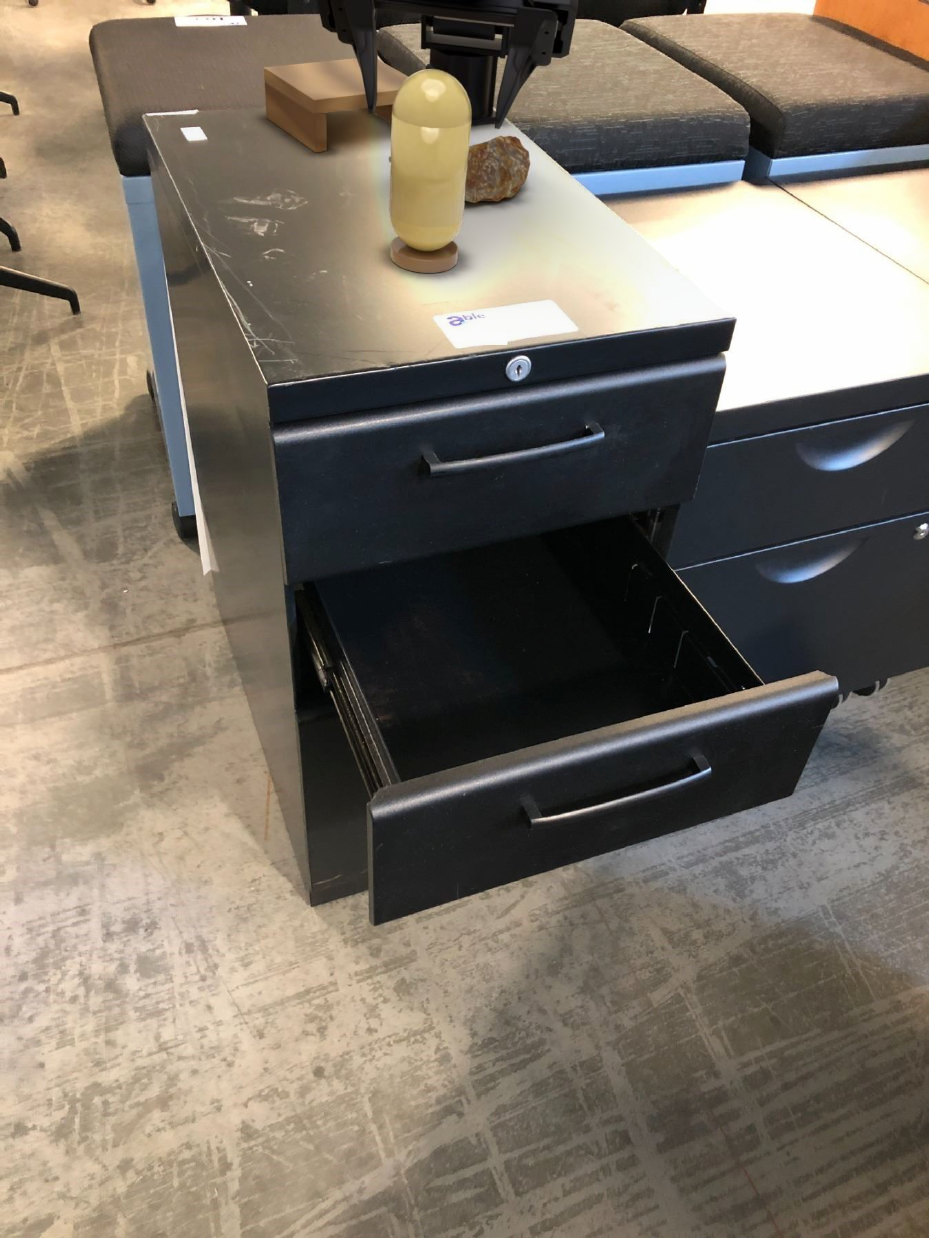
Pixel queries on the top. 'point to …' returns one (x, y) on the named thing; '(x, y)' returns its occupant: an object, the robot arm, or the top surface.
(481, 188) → the decorative stone
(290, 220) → the top surface
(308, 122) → the shelf
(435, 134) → the yellow capsule on stand
